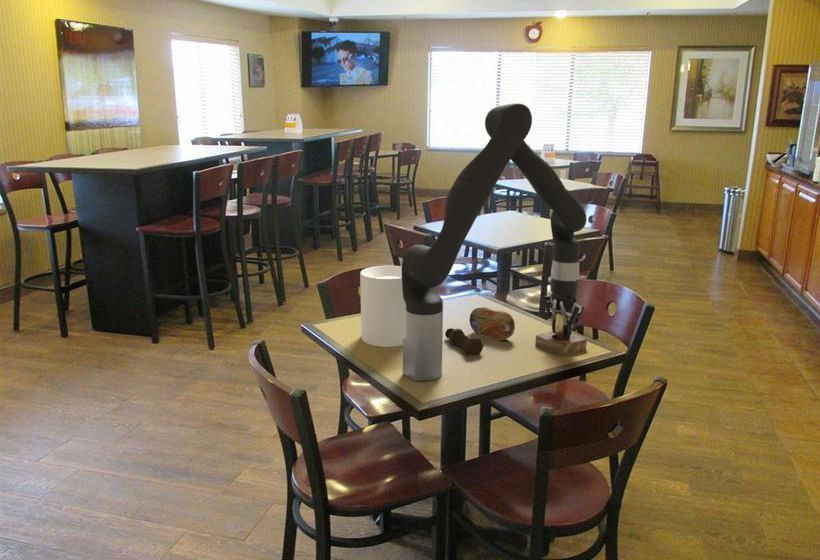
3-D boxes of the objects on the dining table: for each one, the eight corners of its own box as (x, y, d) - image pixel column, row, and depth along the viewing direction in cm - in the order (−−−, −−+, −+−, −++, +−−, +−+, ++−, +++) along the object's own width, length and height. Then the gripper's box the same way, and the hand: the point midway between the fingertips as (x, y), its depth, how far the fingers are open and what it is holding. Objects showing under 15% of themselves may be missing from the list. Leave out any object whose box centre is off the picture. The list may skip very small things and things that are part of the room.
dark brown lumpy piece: (451, 344, 195) (477, 360, 182) (438, 338, 193) (463, 353, 179) (460, 327, 195) (486, 341, 182) (447, 320, 193) (472, 334, 179)
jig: (560, 355, 181) (560, 345, 180) (535, 344, 189) (535, 335, 188) (586, 349, 186) (586, 339, 185) (561, 338, 194) (561, 329, 193)
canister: (369, 349, 185) (368, 281, 180) (355, 331, 200) (354, 267, 195) (422, 343, 190) (423, 276, 185) (405, 326, 205) (405, 264, 200)
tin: (468, 331, 200) (469, 305, 198) (474, 329, 203) (475, 303, 200) (509, 343, 190) (510, 315, 188) (515, 340, 193) (517, 313, 190)
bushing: (560, 343, 185) (562, 316, 183) (551, 339, 188) (553, 312, 186) (570, 341, 187) (571, 313, 185) (561, 337, 190) (562, 310, 187)
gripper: (537, 272, 186) (534, 330, 191) (573, 283, 175) (569, 344, 179) (556, 269, 190) (553, 325, 194) (593, 280, 178) (589, 339, 183)
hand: (561, 334), depth 187 cm, fingers closed on bushing, 3 cm apart
